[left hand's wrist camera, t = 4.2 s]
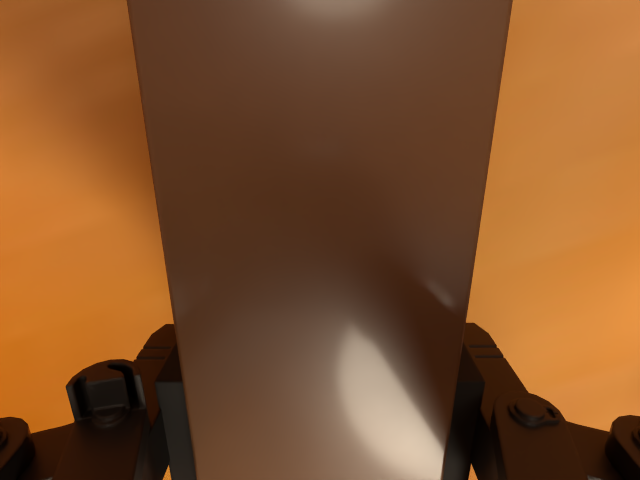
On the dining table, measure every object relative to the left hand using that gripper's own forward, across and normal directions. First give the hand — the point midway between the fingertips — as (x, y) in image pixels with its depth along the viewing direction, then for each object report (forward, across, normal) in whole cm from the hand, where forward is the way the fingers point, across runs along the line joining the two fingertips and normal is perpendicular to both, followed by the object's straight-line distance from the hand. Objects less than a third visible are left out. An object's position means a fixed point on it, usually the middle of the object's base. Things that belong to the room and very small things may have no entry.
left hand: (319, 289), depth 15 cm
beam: (+1, 0, -22) cm, 22 cm away
